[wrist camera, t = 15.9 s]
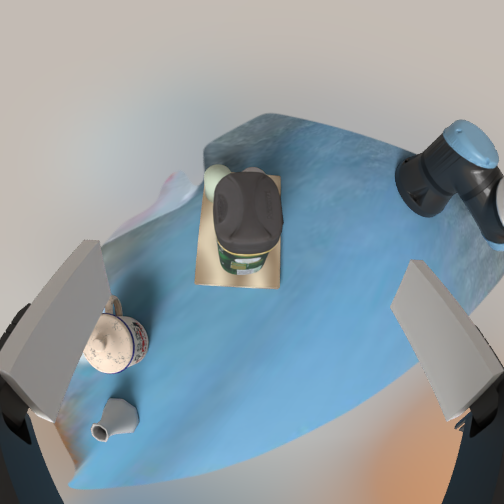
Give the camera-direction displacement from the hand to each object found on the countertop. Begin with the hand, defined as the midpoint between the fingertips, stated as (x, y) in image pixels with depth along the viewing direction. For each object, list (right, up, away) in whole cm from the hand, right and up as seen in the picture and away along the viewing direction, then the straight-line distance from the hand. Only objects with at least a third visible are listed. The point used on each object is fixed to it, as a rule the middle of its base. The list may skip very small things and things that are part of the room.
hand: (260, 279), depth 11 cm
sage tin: (-7, +12, +38) cm, 40 cm away
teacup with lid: (-22, -13, +32) cm, 41 cm away
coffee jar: (-2, +2, +36) cm, 36 cm away
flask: (-24, -28, +28) cm, 46 cm away
